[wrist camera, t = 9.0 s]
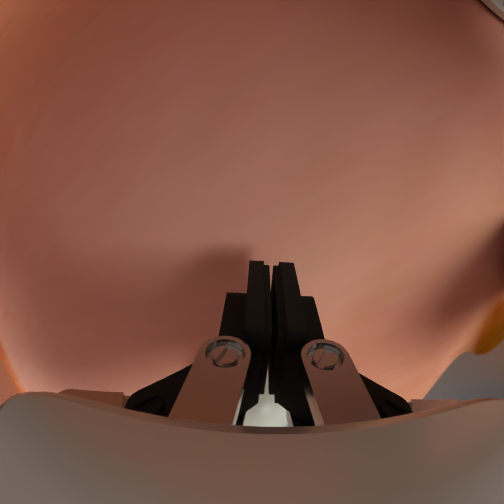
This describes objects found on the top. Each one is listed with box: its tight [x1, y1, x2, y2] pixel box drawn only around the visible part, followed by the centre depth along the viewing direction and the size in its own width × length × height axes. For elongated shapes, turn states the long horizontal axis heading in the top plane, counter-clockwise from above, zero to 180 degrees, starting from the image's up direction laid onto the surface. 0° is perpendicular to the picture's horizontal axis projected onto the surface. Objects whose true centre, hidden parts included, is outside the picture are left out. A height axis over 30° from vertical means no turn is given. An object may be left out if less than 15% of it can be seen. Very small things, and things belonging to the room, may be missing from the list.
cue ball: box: [244, 369, 288, 427], centre depth 14 cm, size 5×5×5 cm
